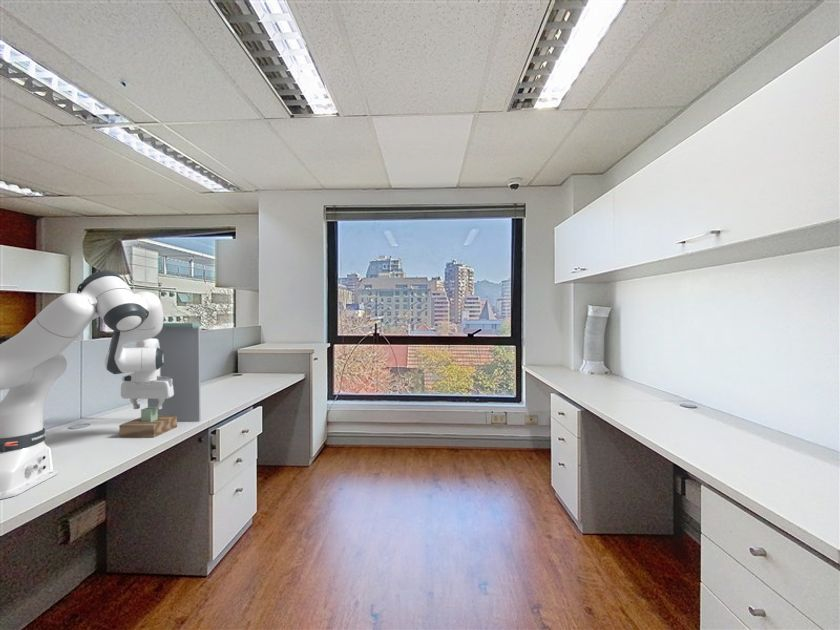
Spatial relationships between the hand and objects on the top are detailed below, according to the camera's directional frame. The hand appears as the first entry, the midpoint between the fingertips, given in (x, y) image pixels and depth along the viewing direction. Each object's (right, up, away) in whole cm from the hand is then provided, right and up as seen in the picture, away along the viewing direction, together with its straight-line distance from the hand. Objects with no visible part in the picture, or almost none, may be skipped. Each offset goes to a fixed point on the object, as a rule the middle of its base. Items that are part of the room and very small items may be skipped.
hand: (147, 408), depth 158 cm
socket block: (+1, -10, 0) cm, 10 cm away
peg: (+1, -10, 0) cm, 10 cm away
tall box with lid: (+1, -10, +13) cm, 16 cm away
